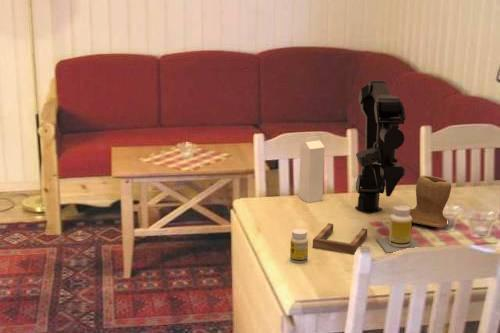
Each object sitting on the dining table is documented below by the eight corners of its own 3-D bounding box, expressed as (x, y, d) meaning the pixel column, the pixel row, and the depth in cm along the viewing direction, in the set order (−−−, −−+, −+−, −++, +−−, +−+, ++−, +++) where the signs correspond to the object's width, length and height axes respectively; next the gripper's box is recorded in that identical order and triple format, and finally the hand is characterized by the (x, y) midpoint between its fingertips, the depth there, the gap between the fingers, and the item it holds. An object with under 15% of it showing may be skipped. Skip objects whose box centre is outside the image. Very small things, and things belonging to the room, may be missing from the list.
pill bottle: (414, 246, 212) (417, 209, 209) (395, 249, 210) (397, 212, 207) (403, 239, 218) (405, 203, 215) (384, 241, 216) (386, 205, 213)
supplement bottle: (289, 256, 206) (289, 228, 203) (305, 256, 206) (306, 227, 204) (291, 263, 201) (292, 234, 199) (308, 263, 201) (309, 234, 199)
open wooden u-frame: (328, 231, 226) (328, 223, 225) (367, 236, 221) (367, 228, 220) (312, 247, 212) (312, 239, 212) (353, 254, 208) (353, 246, 207)
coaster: (375, 240, 219) (375, 238, 218) (411, 238, 220) (411, 236, 220) (386, 254, 208) (386, 252, 208) (424, 252, 209) (424, 250, 209)
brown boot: (454, 222, 235) (458, 176, 231) (441, 233, 225) (445, 185, 221) (409, 213, 243) (412, 168, 239) (394, 223, 233) (397, 177, 229)
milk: (322, 200, 254) (325, 137, 249) (308, 203, 252) (310, 139, 246) (312, 195, 260) (315, 134, 254) (298, 198, 257) (300, 135, 251)
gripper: (351, 133, 225) (349, 183, 229) (368, 148, 207) (365, 202, 211) (387, 133, 226) (384, 182, 230) (406, 147, 208) (403, 200, 213)
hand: (383, 191), depth 221 cm, fingers open, 9 cm apart
